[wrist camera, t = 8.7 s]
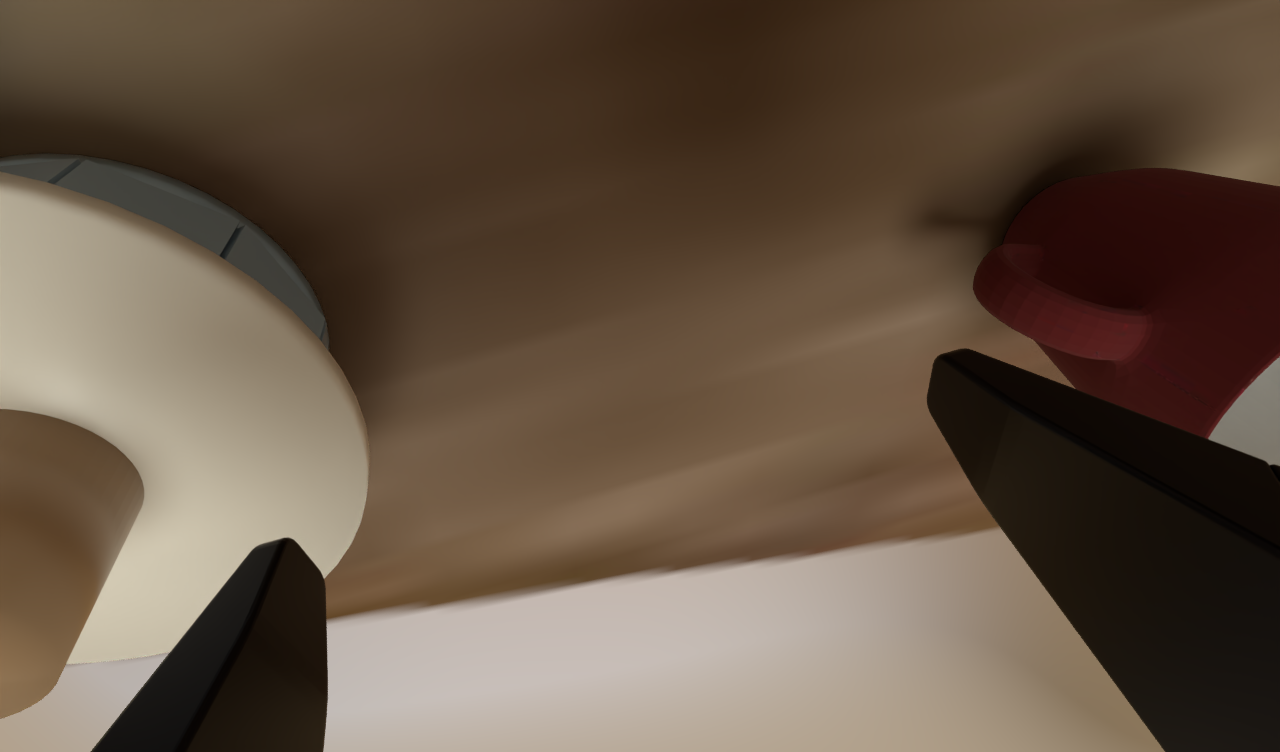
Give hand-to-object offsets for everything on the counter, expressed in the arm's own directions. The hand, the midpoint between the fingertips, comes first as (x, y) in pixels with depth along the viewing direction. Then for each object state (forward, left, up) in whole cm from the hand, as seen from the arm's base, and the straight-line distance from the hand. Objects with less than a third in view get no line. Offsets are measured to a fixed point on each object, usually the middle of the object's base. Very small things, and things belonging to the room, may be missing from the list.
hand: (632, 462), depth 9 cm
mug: (-7, +16, -12) cm, 21 cm away
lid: (+9, -8, -7) cm, 14 cm away
